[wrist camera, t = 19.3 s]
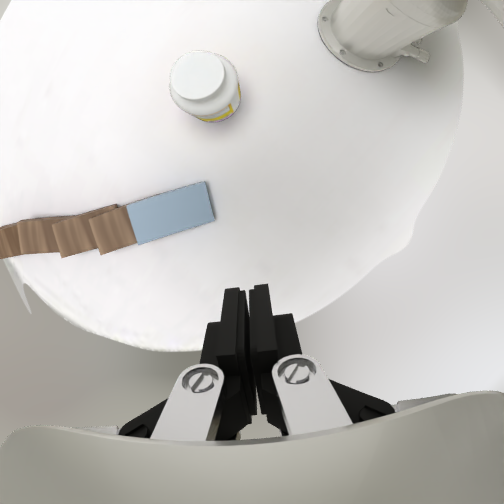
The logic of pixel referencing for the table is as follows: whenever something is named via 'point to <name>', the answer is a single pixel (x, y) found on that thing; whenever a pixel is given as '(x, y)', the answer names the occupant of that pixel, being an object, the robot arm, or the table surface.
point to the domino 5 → (170, 212)
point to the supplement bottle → (205, 86)
